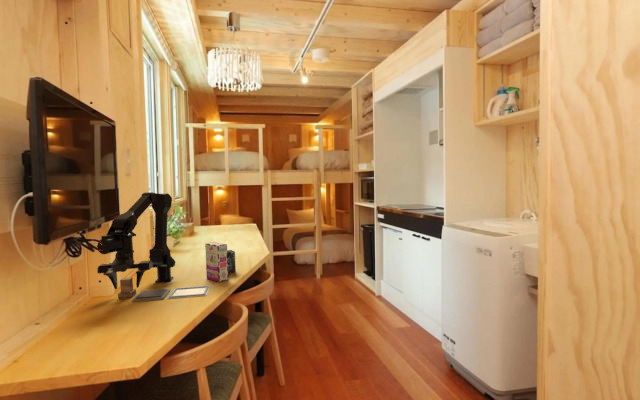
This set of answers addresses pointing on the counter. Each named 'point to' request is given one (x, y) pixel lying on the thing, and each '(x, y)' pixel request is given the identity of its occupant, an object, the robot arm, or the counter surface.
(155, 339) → the counter surface
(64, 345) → the counter surface
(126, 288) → the stamp
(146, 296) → the ink pad
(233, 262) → the box
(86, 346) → the counter surface
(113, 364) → the counter surface
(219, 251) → the candy bar box
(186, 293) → the marked sheet
